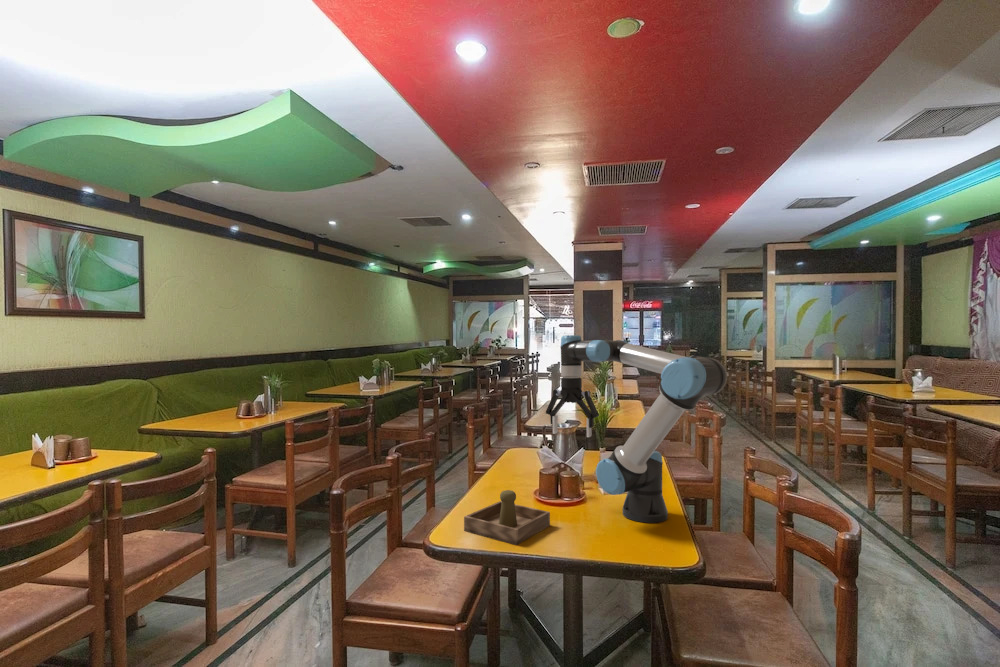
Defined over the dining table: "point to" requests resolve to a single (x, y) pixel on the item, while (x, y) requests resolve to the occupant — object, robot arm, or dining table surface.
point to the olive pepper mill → (508, 509)
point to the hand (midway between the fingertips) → (571, 435)
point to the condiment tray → (488, 526)
